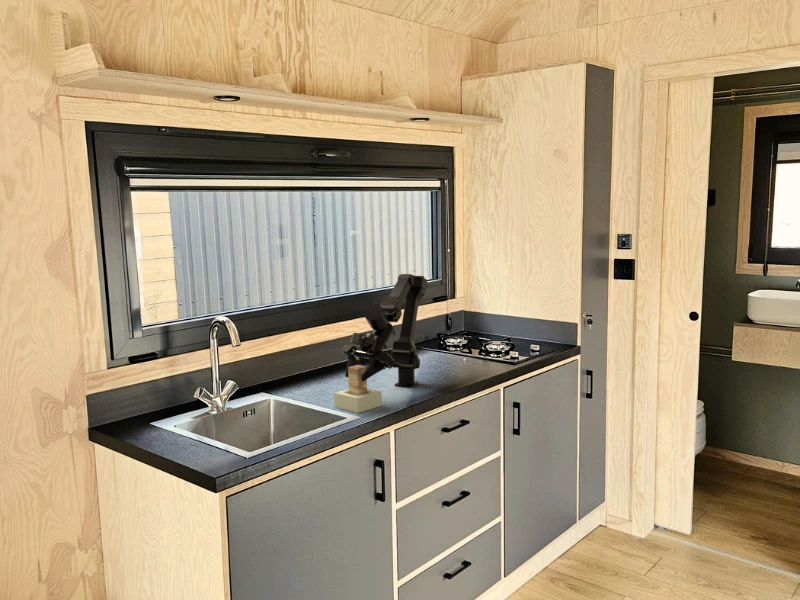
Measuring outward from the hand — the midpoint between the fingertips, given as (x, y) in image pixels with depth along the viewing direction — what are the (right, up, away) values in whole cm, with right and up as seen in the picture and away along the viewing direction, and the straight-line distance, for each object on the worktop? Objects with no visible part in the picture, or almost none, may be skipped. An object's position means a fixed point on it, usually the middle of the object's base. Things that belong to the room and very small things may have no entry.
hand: (354, 378), depth 220 cm
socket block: (+1, -9, +2) cm, 9 cm away
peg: (+1, -9, +2) cm, 9 cm away
